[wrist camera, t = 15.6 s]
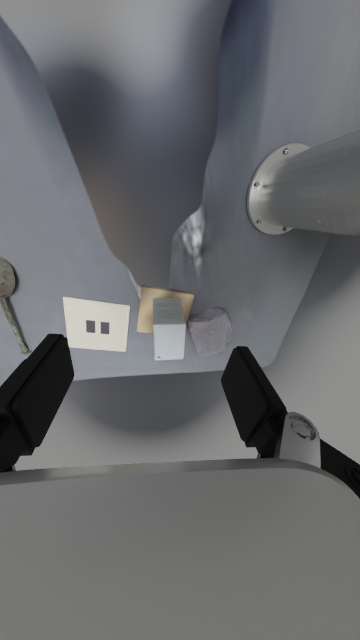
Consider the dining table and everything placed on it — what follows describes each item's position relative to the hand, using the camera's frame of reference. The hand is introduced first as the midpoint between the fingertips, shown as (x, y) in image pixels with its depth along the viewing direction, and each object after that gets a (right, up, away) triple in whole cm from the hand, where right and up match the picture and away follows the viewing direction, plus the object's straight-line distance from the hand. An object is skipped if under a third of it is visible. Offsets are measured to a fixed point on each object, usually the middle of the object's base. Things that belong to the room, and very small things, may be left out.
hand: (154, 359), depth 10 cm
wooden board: (-2, +4, +30) cm, 31 cm away
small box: (-2, +4, +29) cm, 30 cm away
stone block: (+9, 0, +35) cm, 36 cm away
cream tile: (-17, +1, +30) cm, 35 cm away
